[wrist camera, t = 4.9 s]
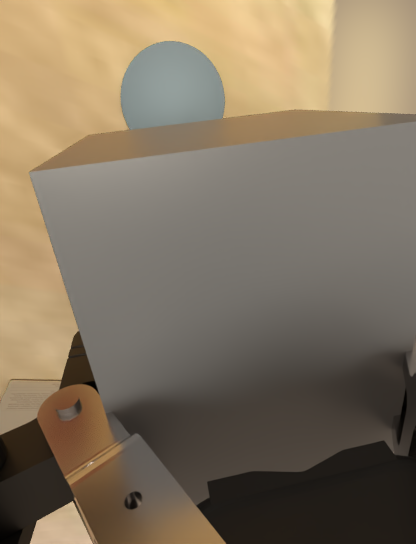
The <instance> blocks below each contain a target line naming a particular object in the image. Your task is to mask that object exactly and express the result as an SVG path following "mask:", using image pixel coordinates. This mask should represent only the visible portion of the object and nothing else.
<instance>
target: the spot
mask: <svg viewBox="0 0 416 544" xmlns="http://www.w3.org/2000/svg"><path fill="white" fill-rule="evenodd" d="M224 105H225V97H224V89H223V85H222V81H221V79H220V76H219V74H218V72H217V70H216V68H215V67H214V65H213V64H212V62H211V61H210V60H209V59H208V58H207V57H206V56H205V55H204V54H203V53H202V52H201V51H199V50H198V49H196V48H194V47H193V46H190V45H188V44H185V43H181V42H175V41H165V42H160V43H156V44H153V45H151V46H149V47H147V48H145V49H144V50H143V51H141V52H140V53H139V54H138V55H137V56H136V57H135V58H134V59H133V61H132V62H131V63H130V65H129V67H128V68H127V70H126V72H125V75H124V78H123V82H122V86H121V106H122V111H123V115H124V118H125V120H126V123H127V125H128V127H129V129H130V130H133V129H141V128H150V127H158V126H166V125H174V124H182V123H191V122H199V121H207V120H215V119H222V118H223V113H224Z"/></svg>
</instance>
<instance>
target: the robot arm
mask: <svg viewBox="0 0 416 544" xmlns="http://www.w3.org/2000/svg"><path fill="white" fill-rule="evenodd" d="M68 357H69V359H67V363H66V366H65V370H64V373H63V377H62V380H61V384H60V388H59V390H58V391H57V392H55V393H53V394H52V395H51V396H49V397H48V398H47V399H46V400H45V401H44V402H43V403H42V405H41V407H40V408H39V411H38V414H37V418H35V419H34V420H32V421H30V422H28V423H26V424H24V425H22V426H19V427H17V428H15V429H13V430H10V431H8V432H6V433H4V434H1V435H0V544H30V541H31V538H32V535H33V531H34V528H35V525H36V522H37V520H39V519H41V518H43V517H45V516H46V515H48V514H50V513H52V512H54V511H55V510H57V509H59V508H61V507H63V506H65V505H66V504H68V503H70V502H72V501H73V503H74V505H75V507H76V509H77V511H78V513H79V515H80V517H81V519H82V522H83V524H84V526H85V528H86V530H87V532H88V534H89V536H90V539H91V541H92V543H93V544H416V336H415V341H414V347H413V350H411V351H406V352H405V355H404V361H403V367H402V369H403V374H404V380H405V386H406V389H405V395H404V400H403V405H402V410H401V415H396V416H394V417H393V423H392V428H391V431H392V439H393V448H394V453H393V452H392V450H391V449H390V448H389V446H388V445H387V443H386V442H385V441H384V440H383V441H379V442H375V443H370V444H366V445H362V446H358V447H353V448H349V449H345V450H342V451H340V452H338V453H336V454H334V455H333V456H331V457H329V458H327V459H326V460H324V461H322V462H320V463H318V464H317V465H315V466H313V467H311V468H310V469H308V470H306V471H302V472H276V471H250V472H246V473H242V474H238V475H233V476H229V477H225V478H220V479H216V480H212V481H208V482H207V485H208V491H209V498H207V499H206V500H204V501H202V502H200V503H199V504H198V505H195V504H194V503H193V501H192V500H191V499H190V497H189V496H188V495H187V494H186V492H185V491H184V490H183V489H182V487H181V486H180V485H179V484H178V482H177V481H176V480H175V479H174V477H173V476H172V475H171V474H170V472H169V471H168V470H167V469H166V467H165V466H164V465H163V463H162V462H161V461H160V460H159V458H158V457H157V456H156V455H155V453H154V452H153V451H152V450H151V448H150V447H149V446H148V445H147V443H146V442H145V441H144V440H143V438H142V437H141V436H140V435H139V434H137V433H133V434H132V435H130V434H129V433H128V432H127V431H126V429H125V428H124V427H123V425H122V424H121V423H120V421H119V420H118V419H117V417H116V416H115V415H114V414H113V412H109V413H105V410H104V407H103V404H102V401H101V398H100V395H99V392H98V388H97V385H96V382H95V379H94V376H93V373H92V370H91V366H90V363H89V360H88V357H87V354H86V351H85V348H84V344H83V341H82V338H81V335H80V332H79V331H78V332H77V333H76V334H75V336H74V338H73V341H72V345H71V349H70V352H69V356H68Z"/></svg>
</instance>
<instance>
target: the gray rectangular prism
mask: <svg viewBox="0 0 416 544" xmlns="http://www.w3.org/2000/svg"><path fill="white" fill-rule="evenodd" d="M29 174H30V178H31V181H32V184H33V187H34V190H35V193H36V197H37V200H38V203H39V206H40V209H41V212H42V215H43V219H44V222H45V225H46V228H47V231H48V234H49V237H50V241H51V244H52V247H53V250H54V253H55V256H56V259H57V263H58V266H59V269H60V272H61V275H62V278H63V281H64V285H65V288H66V291H67V294H68V297H69V300H70V303H71V307H72V310H73V313H74V316H75V319H76V322H77V325H78V329H79V332H80V335H81V338H82V341H83V344H84V348H85V351H86V354H87V357H88V360H89V363H90V366H91V370H92V373H93V376H94V379H95V382H96V385H97V388H98V392H99V395H100V398H101V401H102V404H103V407H104V410H105V413H109V412H113V414H114V415H115V416H116V417H117V419H118V420H119V421H120V423H121V424H122V425H123V427H124V428H125V429H126V431H127V432H128V433H129V434H130V435H132V434H133V433H137V434H139V435H140V436H141V437H142V438H143V440H144V441H145V442H146V443H147V445H148V446H149V447H150V448H151V450H152V451H153V452H154V453H155V455H156V456H157V457H158V458H159V460H160V461H161V462H162V463H163V465H164V466H165V467H166V469H167V470H168V471H169V472H170V474H171V475H172V476H173V477H174V479H175V480H176V481H177V482H178V484H179V485H180V486H181V487H182V489H183V490H184V491H185V492H186V494H187V495H188V496H189V497H190V499H191V500H192V501H193V503H194V504H195V505H198V504H199V503H200V502H202V501H204V500H206V499H207V498H209V491H208V485H207V482H208V481H212V480H216V479H220V478H225V477H229V476H233V475H238V474H242V473H246V472H250V471H276V472H302V471H306V470H308V469H310V468H311V467H313V466H315V465H317V464H318V463H320V462H322V461H324V460H326V459H327V458H329V457H331V456H333V455H334V454H336V453H338V452H340V451H342V450H345V449H349V448H353V447H358V446H362V445H366V444H370V443H375V442H379V441H383V440H384V441H385V442H386V443H387V445H388V446H389V448H390V449H391V450H392V452H393V453H394V448H393V439H392V431H391V428H392V423H393V417H394V416H396V415H401V410H402V405H403V400H404V395H405V389H406V386H405V380H404V374H403V369H402V367H403V361H404V355H405V352H406V351H411V350H413V347H414V341H415V336H416V114H392V113H390V114H389V113H367V112H342V111H317V110H289V111H281V112H272V113H264V114H256V115H248V116H240V117H232V118H223V119H215V120H207V121H199V122H191V123H182V124H174V125H166V126H158V127H150V128H141V129H133V130H125V131H117V132H109V133H101V134H92V135H88V136H86V137H85V138H83V139H81V140H80V141H78V142H77V143H75V144H73V145H72V146H70V147H69V148H67V149H65V150H64V151H62V152H60V153H59V154H57V155H56V156H54V157H52V158H51V159H49V160H48V161H46V162H44V163H43V164H41V165H40V166H38V167H36V168H35V169H33V170H31V171H30V172H29Z"/></svg>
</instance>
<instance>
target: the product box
mask: <svg viewBox="0 0 416 544" xmlns="http://www.w3.org/2000/svg"><path fill="white" fill-rule="evenodd" d="M60 384H61V381H41V380H10V382H9V384H8V386H7V388H6V390H5V393H4V395H3V397H2V399H1V401H0V435H1V434H4V433H6V432H8V431H10V430H13V429H15V428H17V427H19V426H22V425H24V424H26V423H28V422H30V421H32V420H34V419H35V418H37V414H38V411H39V408H40V407H41V405H42V403H43V402H44V401H45V400H46V399H47V398H48V397H49V396H51V395H52V394H53V393H55V392H57V391H58V390H59V388H60Z"/></svg>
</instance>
